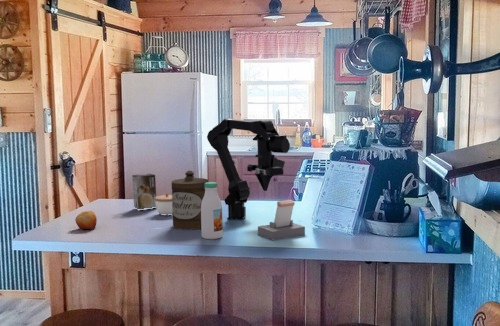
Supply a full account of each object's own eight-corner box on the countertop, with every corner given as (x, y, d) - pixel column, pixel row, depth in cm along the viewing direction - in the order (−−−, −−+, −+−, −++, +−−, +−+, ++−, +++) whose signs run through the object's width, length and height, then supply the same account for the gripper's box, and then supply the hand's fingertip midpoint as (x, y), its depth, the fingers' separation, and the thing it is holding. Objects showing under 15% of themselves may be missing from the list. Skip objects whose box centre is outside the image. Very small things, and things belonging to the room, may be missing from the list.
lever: (272, 225, 196) (277, 201, 193) (286, 223, 199) (291, 199, 196) (276, 229, 195) (280, 204, 191) (289, 226, 198) (294, 202, 194)
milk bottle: (206, 240, 191) (205, 185, 188) (198, 236, 197) (196, 182, 195) (226, 237, 194) (225, 183, 192) (217, 233, 201) (216, 180, 199)
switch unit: (258, 234, 198) (257, 221, 198) (289, 229, 205) (289, 216, 205) (272, 240, 190) (272, 226, 189) (304, 234, 197) (304, 221, 196)
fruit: (104, 222, 216) (97, 207, 211) (94, 236, 210) (87, 221, 206) (87, 221, 219) (79, 206, 214) (77, 235, 213) (69, 220, 208)
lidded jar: (151, 214, 238) (150, 193, 237) (172, 210, 244) (171, 190, 243) (162, 218, 229) (161, 196, 228) (184, 214, 236) (183, 193, 234)
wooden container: (166, 228, 210) (164, 172, 208) (183, 220, 224) (181, 168, 222) (200, 231, 205) (198, 173, 203) (216, 222, 219) (214, 169, 217)
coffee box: (152, 206, 254) (151, 173, 252) (157, 209, 249) (155, 174, 247) (133, 209, 249) (132, 174, 248) (137, 211, 244) (136, 176, 242)
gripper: (294, 152, 210) (295, 191, 212) (269, 149, 226) (269, 185, 228) (270, 154, 204) (271, 194, 206) (246, 150, 220) (247, 188, 222)
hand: (265, 190), depth 216 cm, fingers closed
